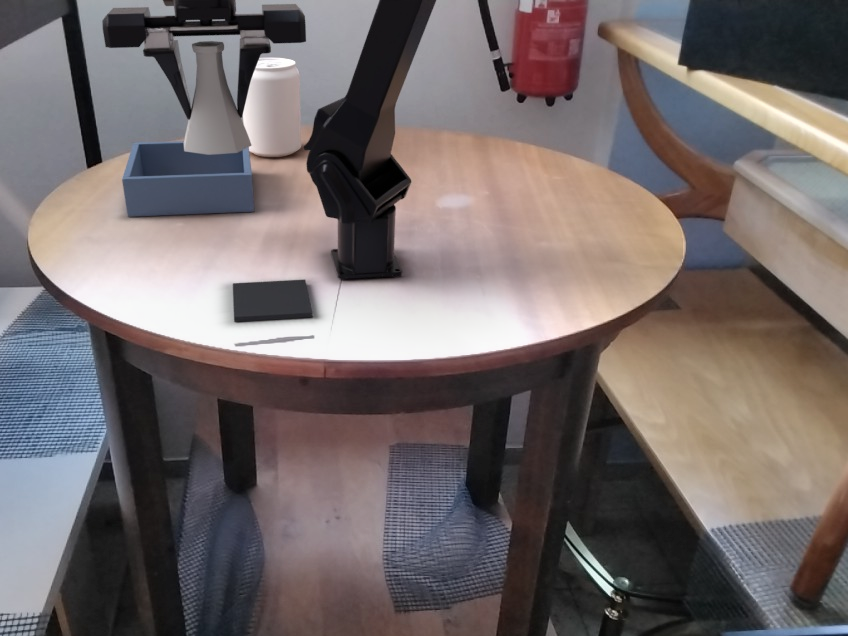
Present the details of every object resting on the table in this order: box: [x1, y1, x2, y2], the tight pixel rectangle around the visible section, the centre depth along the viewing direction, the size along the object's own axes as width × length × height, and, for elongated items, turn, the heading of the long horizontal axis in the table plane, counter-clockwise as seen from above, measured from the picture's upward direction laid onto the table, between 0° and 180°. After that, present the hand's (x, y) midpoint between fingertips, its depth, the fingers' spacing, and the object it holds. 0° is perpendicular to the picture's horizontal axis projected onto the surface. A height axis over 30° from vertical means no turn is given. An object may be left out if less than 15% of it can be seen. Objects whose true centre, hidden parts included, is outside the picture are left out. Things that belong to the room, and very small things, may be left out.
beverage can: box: [242, 57, 302, 158], centre depth 111 cm, size 8×8×12 cm
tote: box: [121, 140, 255, 218], centre depth 97 cm, size 15×15×4 cm
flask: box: [183, 40, 252, 155], centre depth 79 cm, size 7×7×10 cm
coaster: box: [232, 279, 313, 323], centre depth 74 cm, size 7×7×1 cm
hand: (215, 117), depth 80 cm, fingers closed on flask, 5 cm apart
